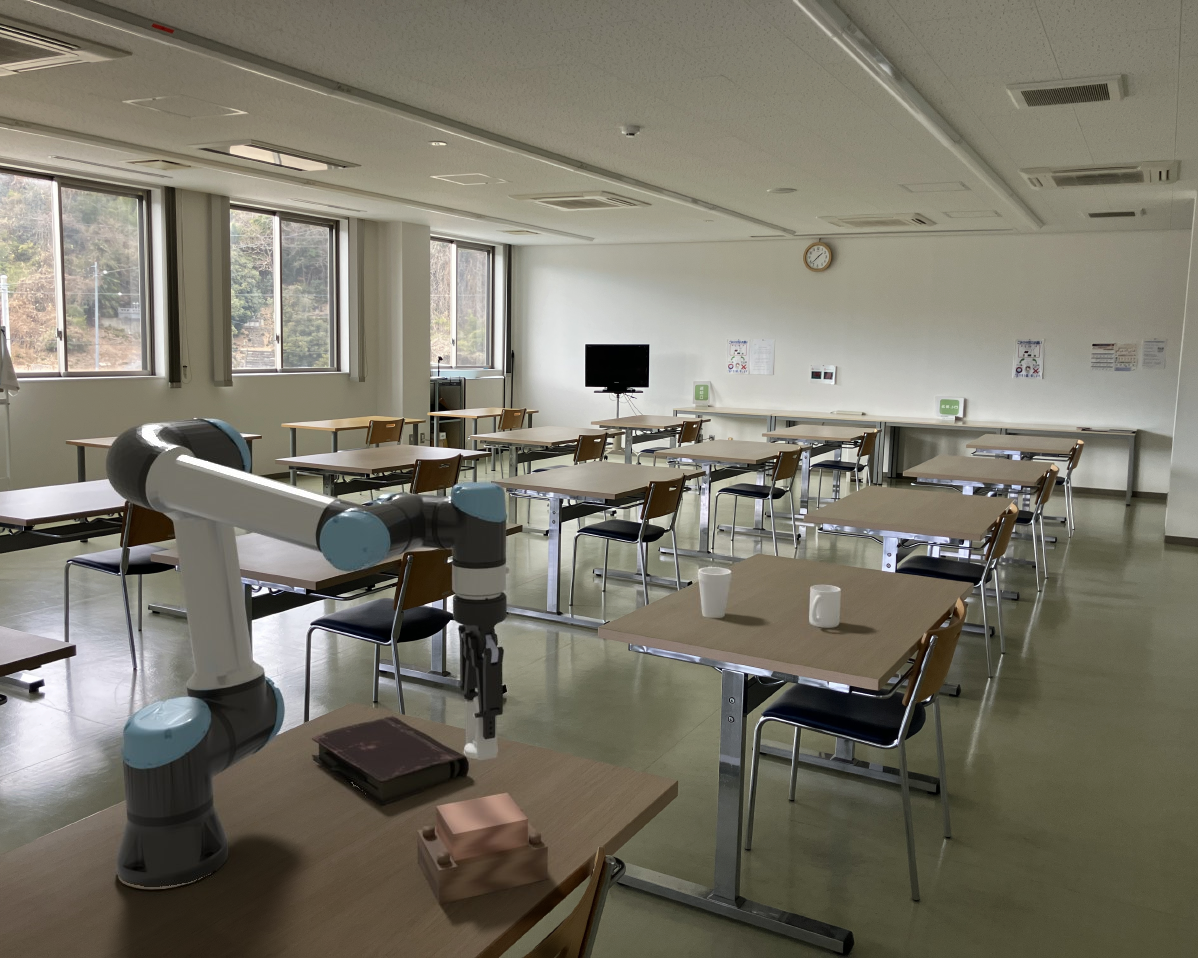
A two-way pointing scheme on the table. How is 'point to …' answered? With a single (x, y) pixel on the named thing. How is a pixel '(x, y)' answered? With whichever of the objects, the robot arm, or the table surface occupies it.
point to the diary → (388, 759)
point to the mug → (824, 606)
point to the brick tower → (480, 849)
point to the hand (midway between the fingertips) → (481, 749)
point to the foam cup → (714, 590)
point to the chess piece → (471, 747)
